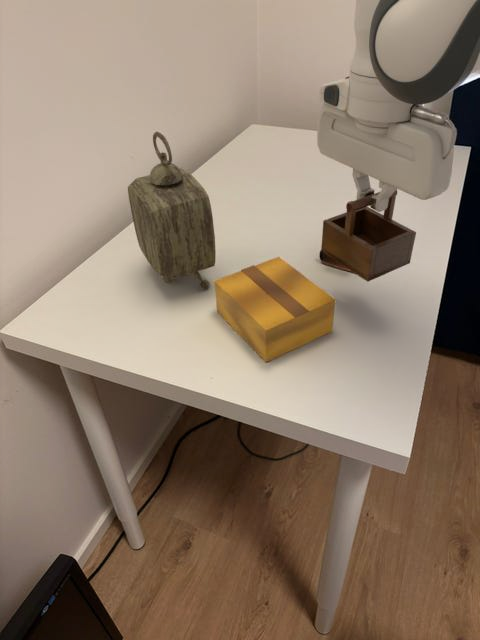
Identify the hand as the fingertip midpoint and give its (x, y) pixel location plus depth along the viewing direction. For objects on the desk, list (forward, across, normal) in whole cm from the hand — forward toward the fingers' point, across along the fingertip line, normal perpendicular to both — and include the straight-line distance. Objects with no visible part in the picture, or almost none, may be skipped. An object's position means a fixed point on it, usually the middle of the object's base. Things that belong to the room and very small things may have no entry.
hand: (371, 205), depth 65 cm
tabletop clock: (+18, +24, +20) cm, 36 cm away
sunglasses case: (+18, +14, -13) cm, 26 cm away
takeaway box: (+18, +5, +13) cm, 22 cm away
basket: (+8, 0, 0) cm, 8 cm away
